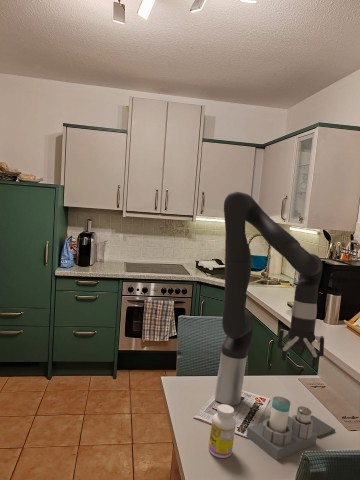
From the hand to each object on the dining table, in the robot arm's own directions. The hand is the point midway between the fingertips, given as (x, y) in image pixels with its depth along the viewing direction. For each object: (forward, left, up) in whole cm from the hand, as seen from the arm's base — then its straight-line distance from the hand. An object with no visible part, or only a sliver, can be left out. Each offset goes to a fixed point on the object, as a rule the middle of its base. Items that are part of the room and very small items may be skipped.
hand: (298, 364), depth 122 cm
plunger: (+2, -8, -16) cm, 18 cm away
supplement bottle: (-23, -20, -22) cm, 37 cm away
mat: (+9, +2, -21) cm, 23 cm away
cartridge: (-6, -12, -18) cm, 23 cm away
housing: (-4, -9, -21) cm, 23 cm away
